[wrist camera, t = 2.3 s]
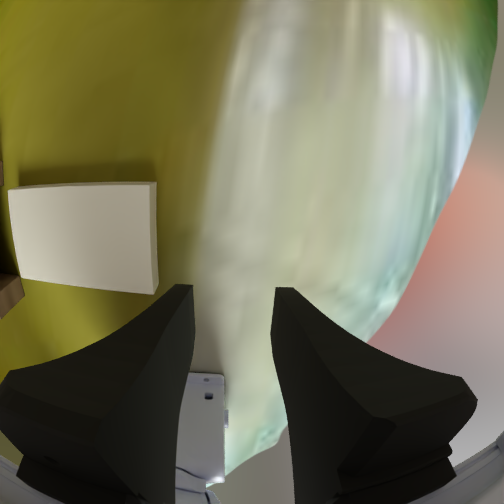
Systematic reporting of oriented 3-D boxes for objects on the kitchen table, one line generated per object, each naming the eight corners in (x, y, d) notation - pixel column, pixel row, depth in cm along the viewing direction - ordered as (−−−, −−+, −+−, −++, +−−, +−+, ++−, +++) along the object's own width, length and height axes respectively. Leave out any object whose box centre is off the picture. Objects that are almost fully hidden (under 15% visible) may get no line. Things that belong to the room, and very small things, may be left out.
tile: (158, 180, 16) (149, 185, 15) (160, 280, 19) (153, 294, 17) (23, 185, 15) (7, 190, 14) (34, 267, 18) (21, 277, 16)
